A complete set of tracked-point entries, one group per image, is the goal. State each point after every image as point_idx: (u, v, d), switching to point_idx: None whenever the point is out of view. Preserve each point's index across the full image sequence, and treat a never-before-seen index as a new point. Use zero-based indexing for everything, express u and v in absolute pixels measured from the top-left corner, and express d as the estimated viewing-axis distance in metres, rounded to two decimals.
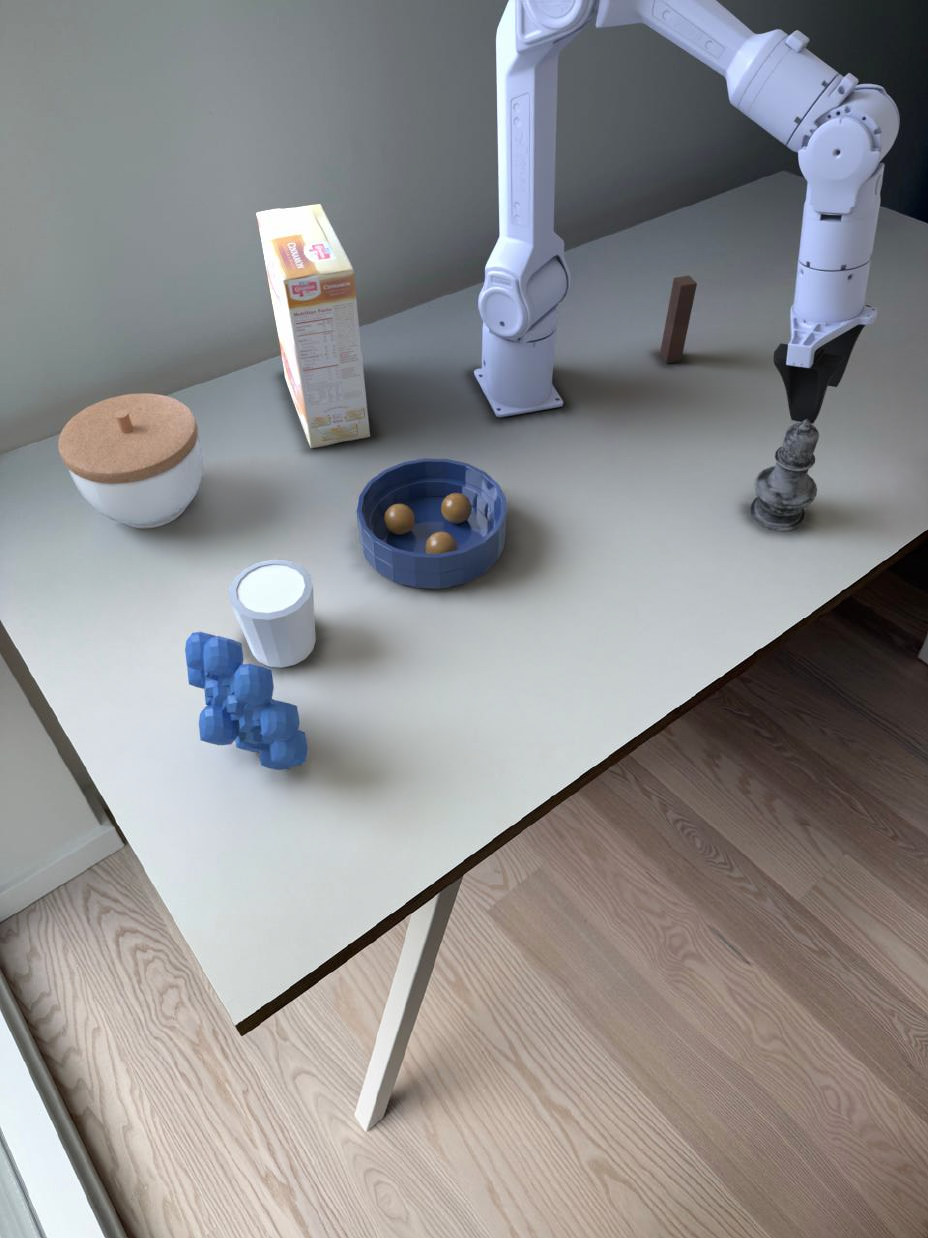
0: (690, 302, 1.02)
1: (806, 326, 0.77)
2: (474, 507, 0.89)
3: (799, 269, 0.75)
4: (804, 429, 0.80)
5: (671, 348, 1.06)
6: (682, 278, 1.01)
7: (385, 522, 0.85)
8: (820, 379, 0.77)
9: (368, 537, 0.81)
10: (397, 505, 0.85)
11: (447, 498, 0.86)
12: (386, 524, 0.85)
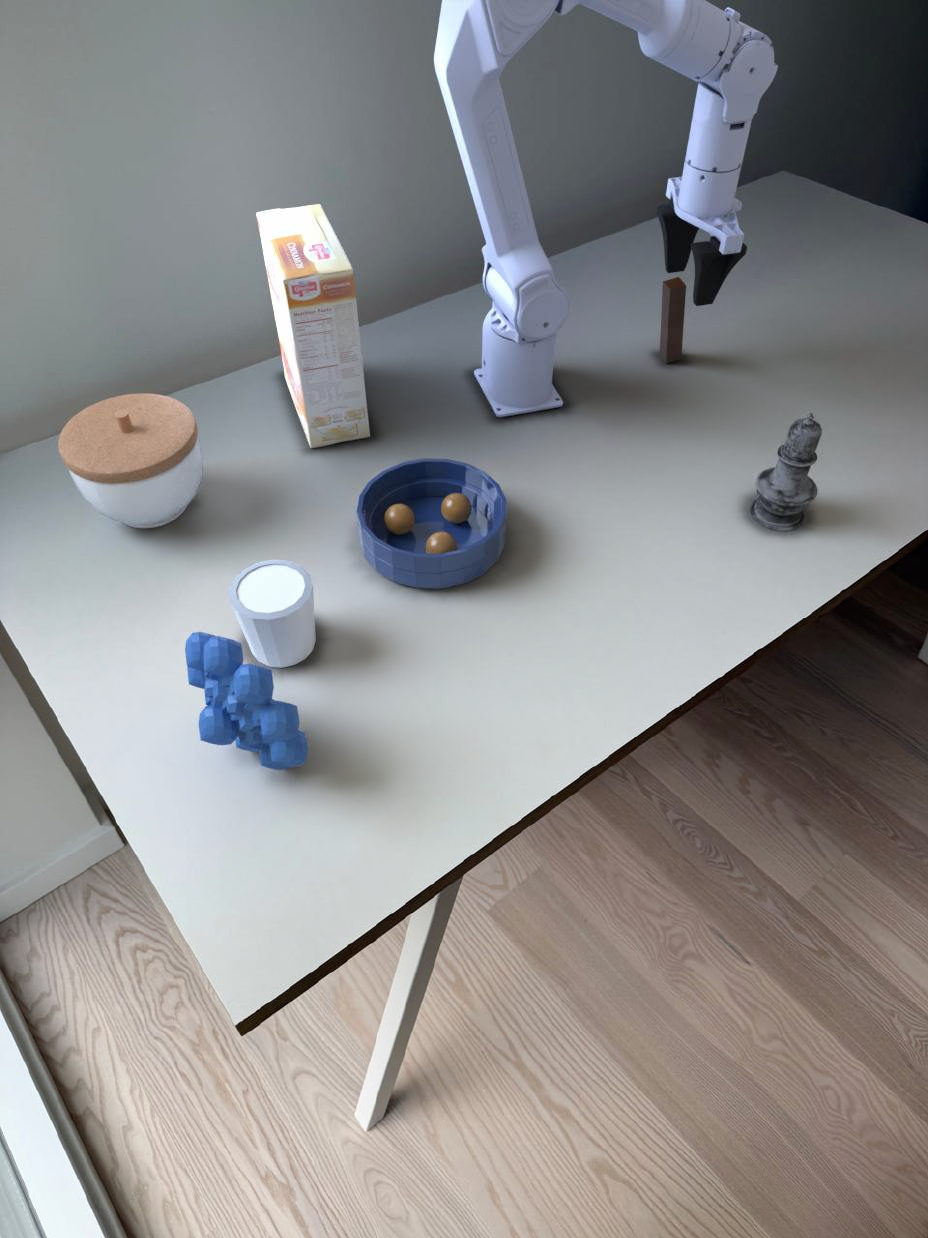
0: (682, 303, 1.02)
1: (710, 221, 0.92)
2: (474, 507, 0.89)
3: (698, 175, 0.90)
4: (807, 423, 0.81)
5: (668, 348, 1.06)
6: (671, 281, 1.01)
7: (385, 522, 0.85)
8: (732, 263, 0.94)
9: (368, 537, 0.81)
10: (397, 505, 0.85)
11: (447, 498, 0.86)
12: (386, 524, 0.85)
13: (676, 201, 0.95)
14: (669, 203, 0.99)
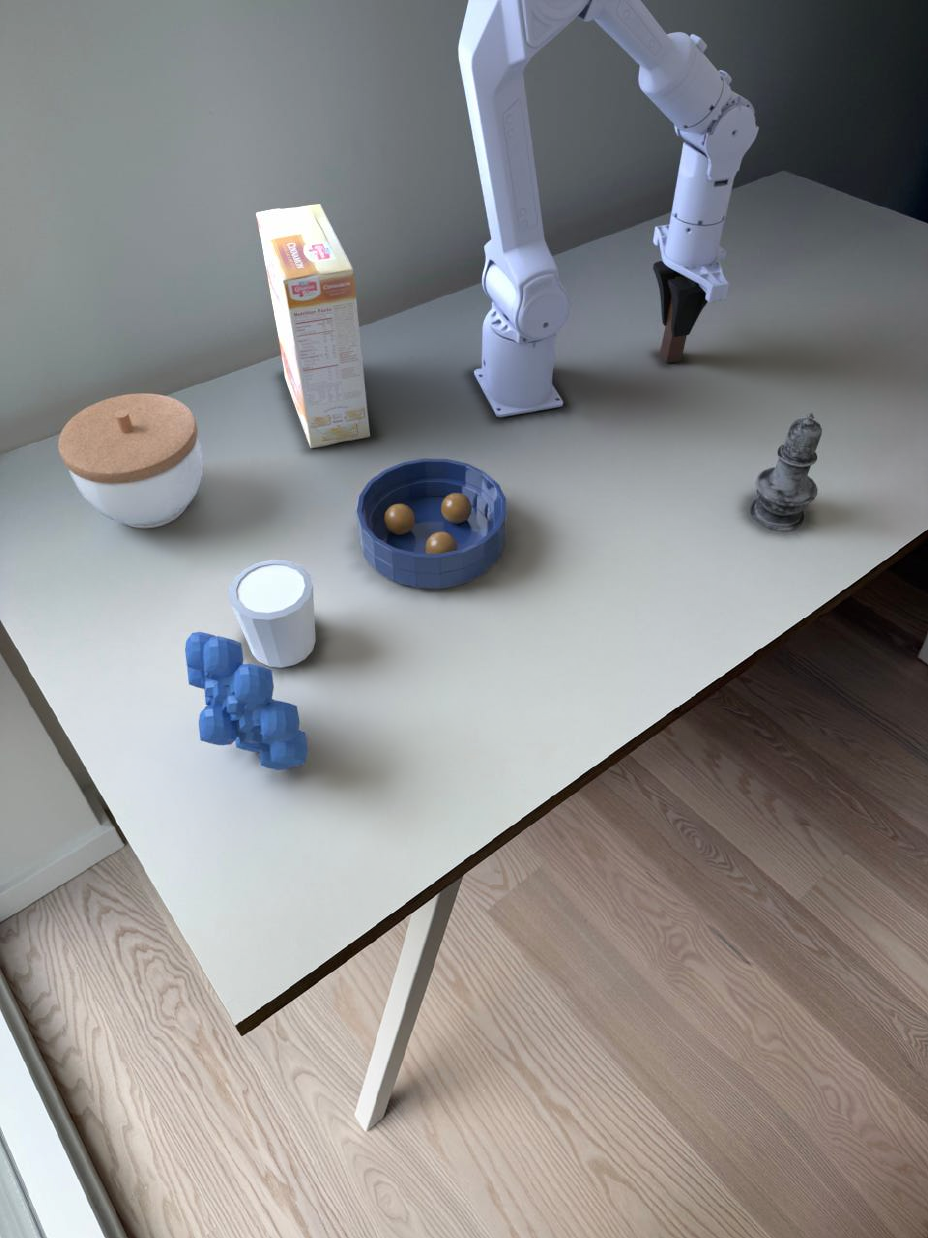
0: None
1: (696, 270, 0.97)
2: (474, 507, 0.89)
3: (684, 228, 0.94)
4: (808, 423, 0.81)
5: (671, 347, 1.06)
6: (684, 277, 1.01)
7: (385, 522, 0.85)
8: None
9: (368, 537, 0.81)
10: (397, 505, 0.85)
11: (447, 498, 0.86)
12: (386, 524, 0.85)
13: (663, 250, 0.99)
14: None
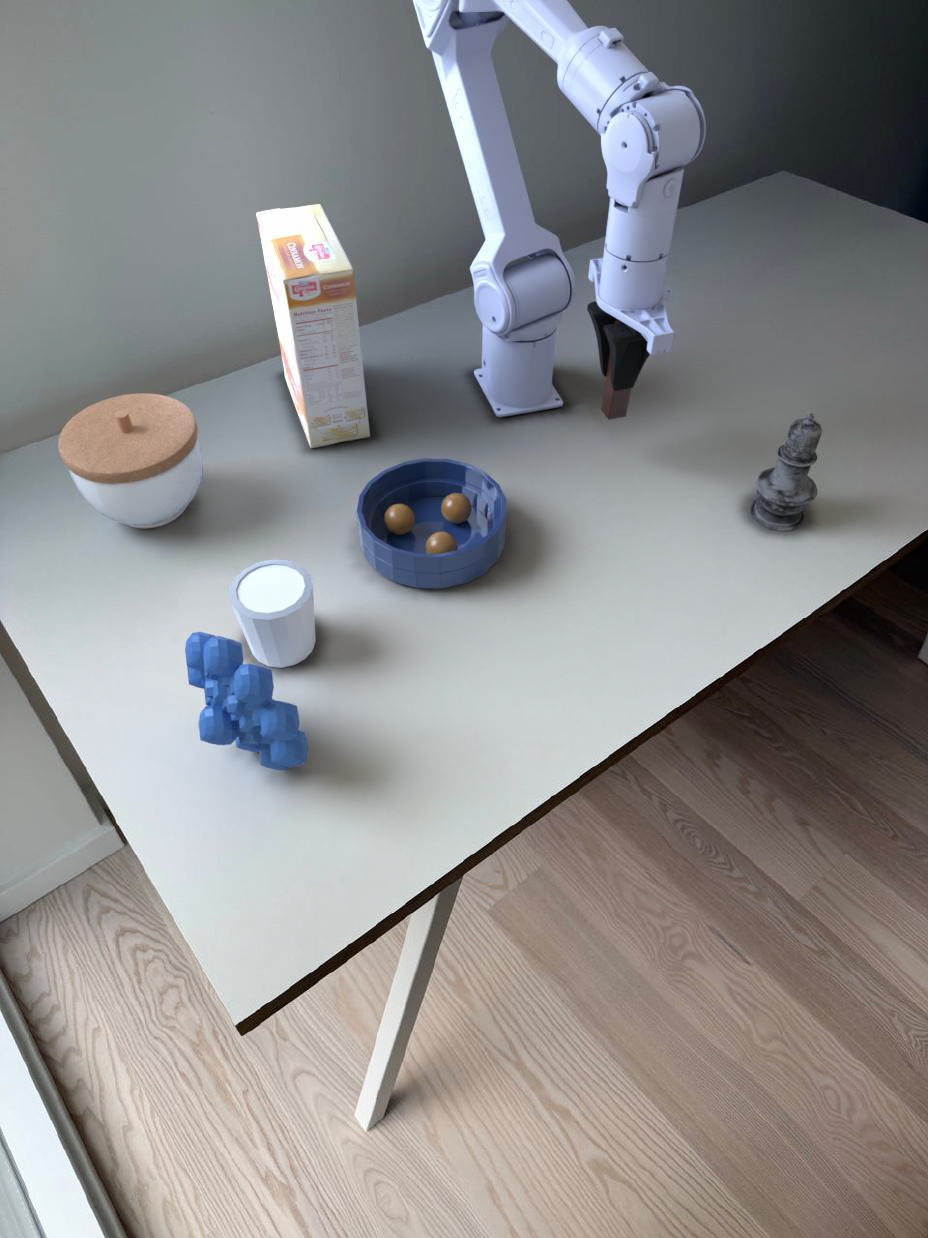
0: None
1: (635, 315, 0.80)
2: (474, 507, 0.89)
3: (619, 265, 0.77)
4: (808, 423, 0.81)
5: (613, 402, 0.89)
6: None
7: (385, 522, 0.85)
8: None
9: (368, 537, 0.81)
10: (397, 505, 0.85)
11: (447, 498, 0.86)
12: (386, 524, 0.85)
13: (597, 290, 0.82)
14: None
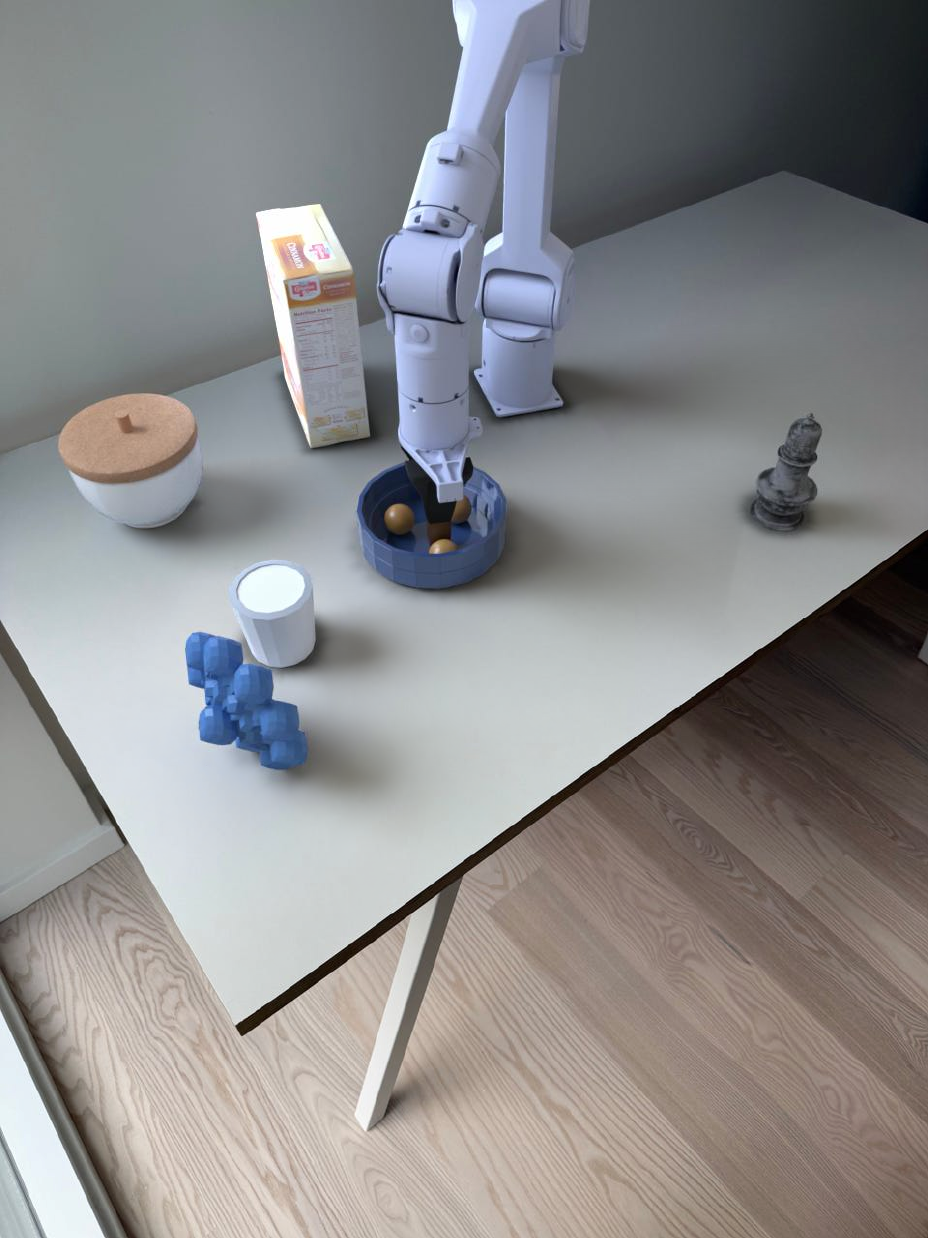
0: None
1: (432, 455, 0.73)
2: (474, 507, 0.89)
3: (408, 404, 0.70)
4: (808, 423, 0.81)
5: (432, 533, 0.82)
6: None
7: (385, 522, 0.85)
8: None
9: (368, 537, 0.81)
10: (397, 505, 0.85)
11: None
12: (386, 524, 0.85)
13: None
14: None
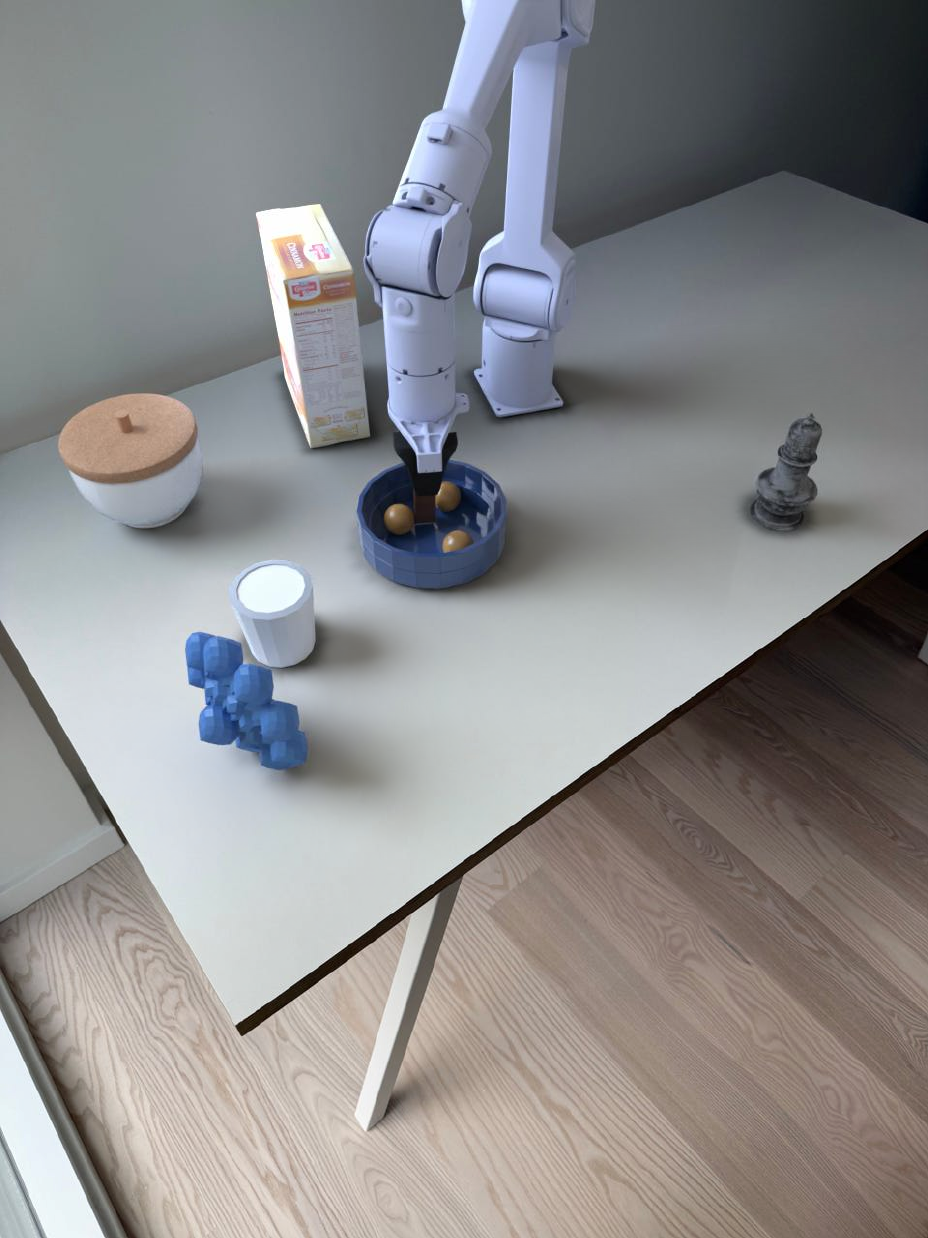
0: None
1: (416, 427, 0.75)
2: (474, 507, 0.89)
3: (394, 376, 0.73)
4: (808, 423, 0.81)
5: (417, 507, 0.85)
6: None
7: (385, 522, 0.85)
8: (443, 458, 0.78)
9: (368, 537, 0.81)
10: (396, 505, 0.85)
11: None
12: (386, 524, 0.85)
13: None
14: None
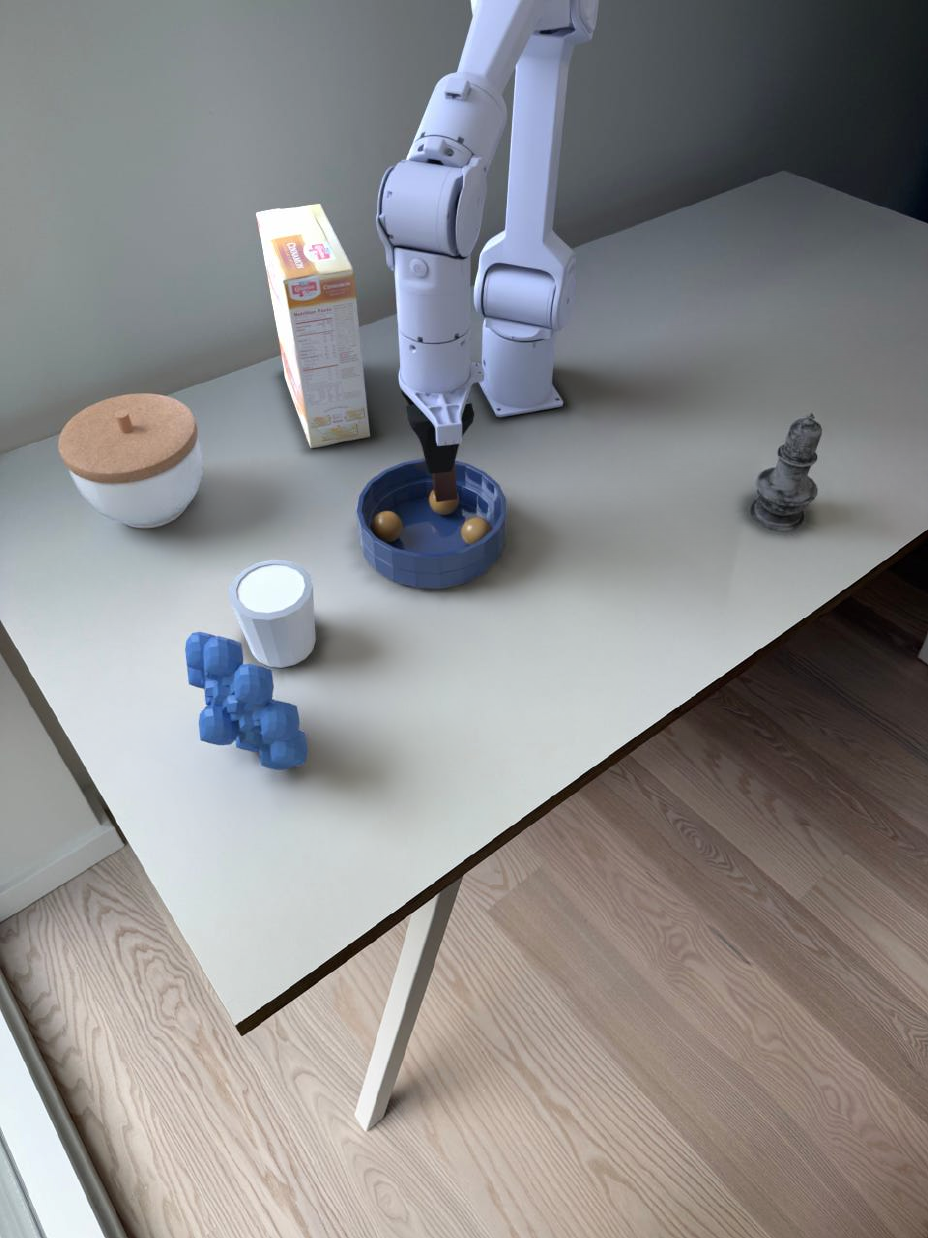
0: None
1: (432, 399, 0.72)
2: (474, 507, 0.89)
3: (408, 344, 0.69)
4: (808, 423, 0.81)
5: (437, 484, 0.81)
6: None
7: None
8: None
9: (368, 537, 0.81)
10: (376, 517, 0.85)
11: None
12: None
13: None
14: None
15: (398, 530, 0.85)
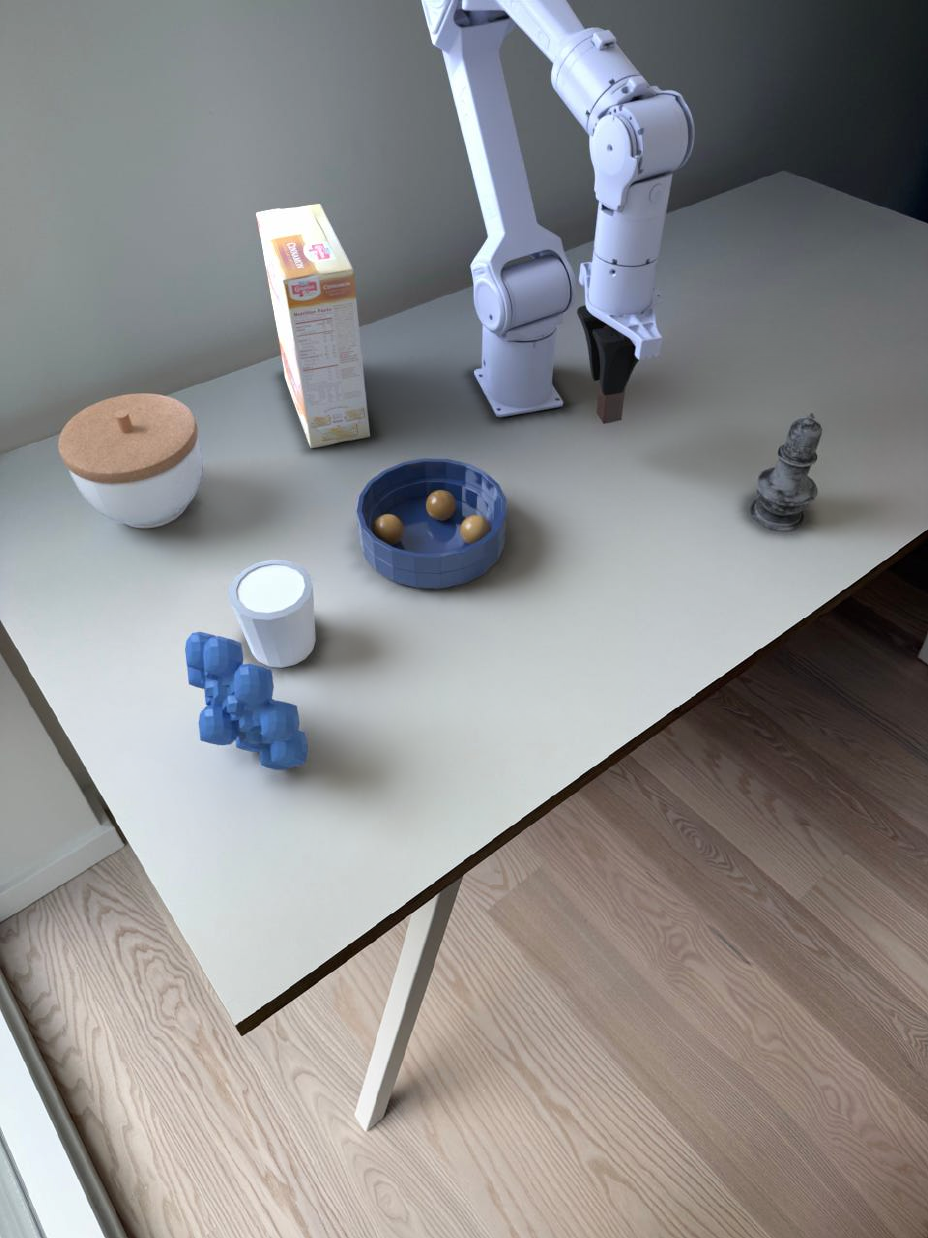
0: None
1: (624, 320, 0.79)
2: (474, 507, 0.89)
3: (608, 269, 0.77)
4: (808, 423, 0.81)
5: (607, 406, 0.89)
6: None
7: None
8: None
9: (368, 537, 0.81)
10: (378, 522, 0.84)
11: (435, 492, 0.87)
12: None
13: (587, 294, 0.82)
14: None
15: (399, 536, 0.84)
